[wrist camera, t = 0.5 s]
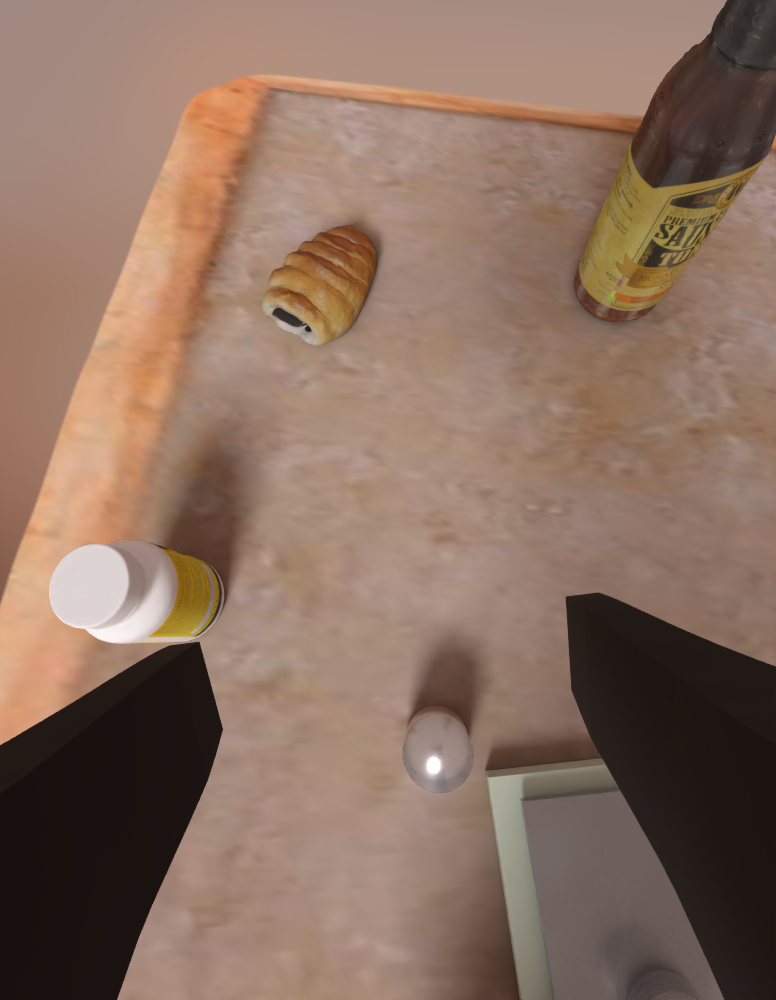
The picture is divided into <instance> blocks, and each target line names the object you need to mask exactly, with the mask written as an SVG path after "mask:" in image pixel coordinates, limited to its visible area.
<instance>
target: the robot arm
mask: <svg viewBox="0 0 776 1000" xmlns="http://www.w3.org/2000/svg"><path fill="white" fill-rule="evenodd" d="M566 608H567V624H568V640H569V656H570V673H571V689H572V692H573V695H574V697H575V700H576V702H577V705H578V707H579V710H580V713H581V715H582V718H583V720H584V722H585V725H586V727H587V729H588V732H589V734H590V737H591V739H592V741H593V742H594V744H595V746H596V748H597V750H598V752H599V753H600V755H601V757H602V759H603V761H604V762H605V764H606V766H607V768H608V770H609V771H610V773H611V775H612V777H613V779H614V780H615V782H616V784H617V786H618V787H619V789H620V791H621V793H622V794H623V796H624V798H625V800H626V802H627V803H628V805H629V807H630V809H631V810H632V812H633V814H634V816H635V817H636V819H637V821H638V823H639V825H640V826H641V828H642V830H643V832H644V833H645V835H646V837H647V839H648V841H649V842H650V844H651V846H652V848H653V849H654V851H655V853H656V855H657V856H658V858H659V860H660V862H661V864H662V866H663V868H664V870H665V872H666V874H667V876H668V878H669V880H670V881H671V883H672V885H673V887H674V889H675V891H676V893H677V896H678V898H679V900H680V902H681V904H682V907H683V909H684V911H685V913H686V915H687V918H688V920H689V922H690V924H691V926H692V929H693V931H694V933H695V935H696V937H697V940H698V942H699V944H700V946H701V948H702V951H703V953H704V955H705V957H706V959H707V962H708V964H709V966H710V968H711V971H712V973H713V975H714V977H715V980H716V982H717V984H718V987H719V989H720V991H721V994H722V996H723V998H724V1000H776V666H773V665H770V664H767V663H764V662H762V661H759V660H756V659H754V658H751V657H749V656H746V655H744V654H741V653H738V652H736V651H733V650H731V649H728V648H726V647H723V646H720V645H718V644H716V643H713V642H711V641H708V640H706V639H704V638H701V637H699V636H697V635H694V634H692V633H690V632H687V631H685V630H683V629H681V628H678V627H676V626H674V625H672V624H669V623H667V622H665V621H663V620H661V619H658V618H656V617H654V616H652V615H650V614H648V613H645V612H643V611H641V610H639V609H637V608H635V607H632V606H630V605H628V604H626V603H624V602H621V601H619V600H617V599H614V598H612V597H610V596H607V595H604V594H601V593H591V594H583V595H575V596H567V597H566ZM222 731H223V728H222V724H221V720H220V717H219V713H218V709H217V705H216V702H215V698H214V694H213V691H212V687H211V683H210V679H209V676H208V672H207V668H206V664H205V661H204V657H203V653H202V650H201V646H200V642H194V643H186V644H178V645H170V646H168V647H165V648H163V649H161V650H159V651H157V652H155V653H153V654H151V655H150V656H148V657H146V658H144V659H143V660H141V661H139V662H137V663H136V664H134V665H132V666H131V667H129V668H128V669H126V670H124V671H123V672H121V673H119V674H118V675H116V676H115V677H113V678H111V679H110V680H108V681H107V682H105V683H103V684H102V685H100V686H99V687H97V688H95V689H94V690H92V691H91V692H89V693H87V694H86V695H84V696H83V697H81V698H79V699H78V700H76V701H75V702H73V703H71V704H70V705H68V706H66V707H65V708H63V709H61V710H60V711H58V712H56V713H54V714H53V715H51V716H49V717H48V718H46V719H44V720H43V721H41V722H39V723H38V724H36V725H34V726H32V727H31V728H29V729H27V730H26V731H24V732H22V733H21V734H19V735H17V736H16V737H14V738H12V739H10V740H9V741H7V742H5V743H3V744H2V745H0V1000H117V998H118V995H119V992H120V990H121V987H122V984H123V981H124V978H125V975H126V973H127V970H128V967H129V964H130V961H131V958H132V955H133V953H134V950H135V947H136V944H137V941H138V938H139V936H140V933H141V931H142V929H143V926H144V924H145V921H146V919H147V916H148V914H149V911H150V909H151V907H152V904H153V902H154V900H155V898H156V895H157V893H158V891H159V889H160V887H161V884H162V882H163V880H164V878H165V875H166V873H167V871H168V869H169V867H170V864H171V862H172V860H173V858H174V855H175V853H176V851H177V849H178V847H179V844H180V842H181V840H182V838H183V836H184V833H185V831H186V829H187V827H188V824H189V822H190V820H191V818H192V815H193V813H194V811H195V809H196V806H197V804H198V802H199V800H200V797H201V795H202V793H203V790H204V788H205V786H206V783H207V781H208V778H209V775H210V772H211V769H212V766H213V762H214V759H215V756H216V752H217V749H218V745H219V742H220V738H221V734H222Z"/></svg>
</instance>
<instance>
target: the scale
mask: <svg viewBox="0 0 776 1000" xmlns="http://www.w3.org/2000/svg"><path fill="white" fill-rule="evenodd" d="M485 774H486V781H487V787H488V794H489V801H490V807H491V814H492V820H493V827H494V833H495V840H496V846H497V853H498V859H499V866H500V873H501V879H502V886H503V892H504V899H505V905H506V912H507V918H508V925H509V932H510V938H511V945H512V951H513V958H514V964H515V971H516V977H517V984H518V991H519V997H520V1000H554V998H553V992H552V986H551V980H550V974H549V968H548V962H547V956H546V950H545V944H544V938H543V933H542V927H541V921H540V915H539V909H538V903H537V897H536V891H535V885H534V879H533V873H532V867H531V861H530V855H529V849H528V843H527V837H526V831H525V825H524V819H523V813H522V807H521V801H520V798H525V797H534V796H543V795H553V794H562V793H571V792H581V791H590V790H599V789H608V788H618V786H617V784H616V782H615V780H614V779H613V777H612V775H611V773H610V771H609V770H608V768H607V766H606V764H605V762H604V761H603V759H602V758H598V759H589V760H580V761H571V762H562V763H553V764H543V765H534V766H525V767H516V768H507V769H498V770H489V771H485Z"/></svg>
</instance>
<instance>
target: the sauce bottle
mask: <svg viewBox="0 0 776 1000" xmlns="http://www.w3.org/2000/svg"><path fill="white" fill-rule="evenodd" d="M775 135H776V0H727V2H726V3H725V6H724V7H723V8H722V10H721V11H720V13H719V14H718V15H717V17H716V19H715V21H714V24H713V27H712V31H711V33H710V34H709V35H707V37H706V38H705V39H704V40H703V41H702V42H701V43H700V44H697V45H694V46H693V47H692V48H691V49H690V50H689V51H688V52H686V53H685V54H684V56H683V57H682V59H680V60H679V61H678V62H677V63H676V64H675V65H674V66H673V67H672V69H671V70H670V71H669V72H668V73H667V74H666V76H665V78H664V79H663V81H662V82H661V83H660V85H659V87H658V88H657V90H656V92H655V94H654V96H653V98H652V100H651V102H650V105H649V107H648V110H647V112H646V114H645V116H644V119H643V121H642V123H641V126H640V127H639V128H638V130H637V131H636V133H635V135H634V136H633V139H632V141H631V143H630V145H629V148H628V150H627V152H626V155H625V157H624V159H623V162H622V164H621V166H620V168H619V171H618V173H617V175H616V178H615V180H614V182H613V185H612V187H611V189H610V191H609V194H608V196H607V198H606V201H605V203H604V205H603V208H602V210H601V212H600V214H599V217H598V219H597V221H596V224H595V226H594V228H593V230H592V233H591V235H590V237H589V240H588V242H587V244H586V247H585V249H584V251H583V254H582V256H581V258H580V261H579V269H578V271H577V275H576V277H575V285H574V287H575V291H576V296H577V297H578V300H579V301H580V304H582V305H583V306H584V308H585V309H586V310H587V311H589V312H590V313H591V314H592V315H594V316H595V317H597V318H599V319H603V320H606V321H611V322H621V321H622V322H624V321H630V320H635V319H638V318H639V317H641V316H644V315H646V314H647V313H648V312H649V311H650V310H652V308H653V307H654V306H655V305H656V304H657V303H658V302H659V301H661V300H662V299H663V298H664V297H665V296H666V294H667V293H668V292H669V290H670V289H671V288H672V286H673V285H674V283H675V282H676V281H677V279H678V278H679V277H680V275H681V274H682V272H683V271H684V270H685V268H686V267H687V266H688V264H689V263H690V261H691V260H692V259H693V257H694V256H695V254H696V253H697V252H698V250H699V249H700V247H701V246H702V245H703V244H704V242H705V241H706V240H707V238H708V237H709V235H710V234H711V232H712V231H713V230H714V228H715V227H716V225H717V224H718V223H719V221H720V220H721V219H722V217H723V216H724V215H725V213H726V212H727V210H728V209H729V207H730V206H731V205H732V203H733V202H734V200H735V199H736V198H737V196H738V195H739V194H740V192H741V191H742V190H743V188H744V187H745V185H746V184H747V183H748V181H749V180H750V179H751V177H752V176H753V175H754V173H755V172H756V170H757V169H758V168H759V166H760V165H761V163H762V162H763V161H764V159H765V158H766V156H767V155H768V153H769V152H770V150H771V147H772V144H773V141H774V138H775Z"/></svg>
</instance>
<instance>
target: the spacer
mask: <svg viewBox="0 0 776 1000" xmlns="http://www.w3.org/2000/svg"><path fill="white" fill-rule="evenodd" d="M403 760H404V765H405V768H406V770H407V772H408V774H409V776H410V777H411V778H412V780H413V781H414V782H415V783H416V784H417V785H418V786H420V787H421V788H423V789H425V790H427V791H430V792H434V793H445V792H449V791H452V790H454V789H456V788H457V787H459V786H460V785H461V784H462V783H463V782H464V781H465V780H466V779H467V777H468V775H469V773H470V771H471V768H472V765H473V748H472V744H471V741H470V738H469V736H468V733H467V730H466V728H465V725H464V723H463V721H462V720H461V718H460V717H459V716H458V715H457V714H456V713H455V712H454V711H452V710H451V709H449V708H446V707H443V706H437V705H434V706H428V707H425V708H423V709H421V710H420V711H418V712H417V713H416V714H415V715H414V716H413V717H412V719H411V721H410V723H409V725H408V728H407V732H406V737H405V741H404V746H403Z"/></svg>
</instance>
